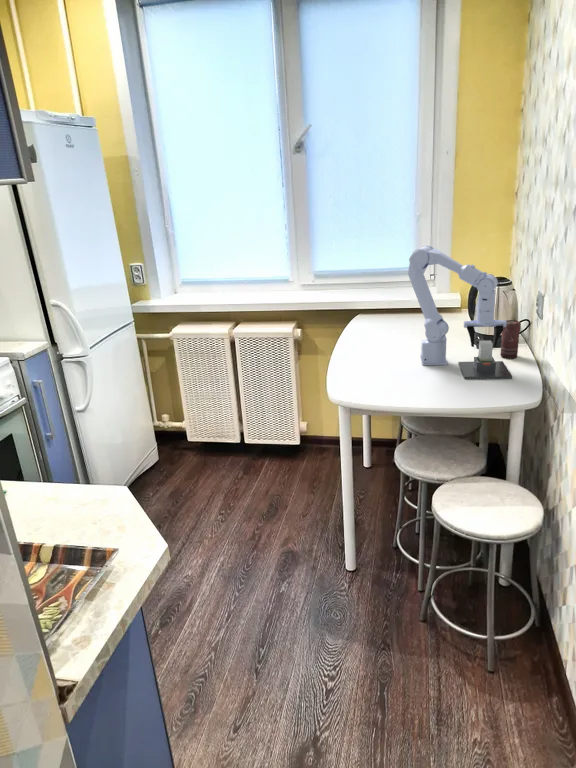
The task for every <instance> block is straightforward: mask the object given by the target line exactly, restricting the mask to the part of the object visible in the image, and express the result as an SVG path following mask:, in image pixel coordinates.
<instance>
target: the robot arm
mask: <svg viewBox="0 0 576 768" xmlns="http://www.w3.org/2000/svg"><path fill="white" fill-rule="evenodd" d="M408 261H409V266H408V272H407V276H408V278H409V281H410V284H411V285H412V288H413V291H414V294H415V296H416V299H417V301H418V303H419V307H420V310H421V311H422V314H423V317H424V328H425V332H424V333H425V337H426V339H421V344H420V347H421V348H420V350H421V351H420V361H421V365H422V366H437V365H438V366H443V365H444V366H447V365H449V364H448V363H449V362H448V360H447V336H446V335H447V334H448V333H449V329H450V327H449V324H448V323H447V321H445V319H444V318H443V316H442V314H440V313H439V311H438V308H437V306H436V304H435V301H434V298H433V296H432V292H431V290H430V288H429V285H428V281H427V280H426V277H425V272H426V271H427V268H428V266H432V265H440V266H441V267H443V268H445V269H447V270H450V271H452V272H454V273H456V274H457V275H458V277H459V279H460V280H461V281H463V282H464V283H467V284H469V285H470V286H472V287H474V288H476V289H477V292H478V297H477V313H476V319H473V320H466V321H465V320H464V321H463V328H465V329H467V332H468V335H469V338H470V346H471V347H472V348H474V347H475V336H476V335H475V334H476V333H475V332H476V330H475V328H490V327H491V328H493V337H492V338H493V340H492V343H493V347H497V343H498V341H499V338H500V336H502V332H503V329H504V328H503V327H506V324H507V322H506V321H507V320H500V319H499V320H498V319H494V318H495V305H496V304H495V303H496V289H497V286H498V285H499V284H498V283H499V281H498V279H497V277H496V276H495V275H494V274H493V273H491V274H490V273H488V272H486V271H482V270H479V268H476V265H475V264H465V265H463V264H462V263H460V262H458V261H457V260H455V259H453V258H452V257H450V256H449V255H447V254H446V253H444V252H442V251H441V250H439V249H438V248H434V247H433V246H431V245H424V246H422V247H420V248H418V249H415V250H413V252H412V253H411V255H410V257H409V258H408Z"/></svg>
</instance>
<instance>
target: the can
mask: <svg viewBox="0 0 576 768" xmlns="http://www.w3.org/2000/svg"><path fill="white" fill-rule="evenodd" d="M506 322H507V324H506V327H503V328H504V329H503V332H502V333H501V343H500V353H499V354H500V357H501V358H502V359H505V358H506V359H505V360H513V359H514V360H515V359H516V358H517V357H518V352H519V341H520V331H521V329H522V327H521V324H522V323H521V322H520V321H519V320H512V319H508V320H506Z"/></svg>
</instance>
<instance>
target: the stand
mask: <svg viewBox="0 0 576 768" xmlns="http://www.w3.org/2000/svg"><path fill="white" fill-rule="evenodd" d="M457 364H458V366H459V369H460V372H461V375H462V377H463V379H464V380H512V379H513V375H512V374H511V372H510V371H509V369H508V367H507V366H506V364H505V363H504V361H503V360H501V361H500V360H497V361H496V359H494V357H493V356H492V362H479V361H478V356H474V357H473V361H458V363H457Z"/></svg>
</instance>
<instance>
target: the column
mask: <svg viewBox="0 0 576 768" xmlns="http://www.w3.org/2000/svg"><path fill="white" fill-rule="evenodd" d="M493 347H494V346H493V341H492V340H478V352H477V357H478V361H479V362H492V357H493Z"/></svg>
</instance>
